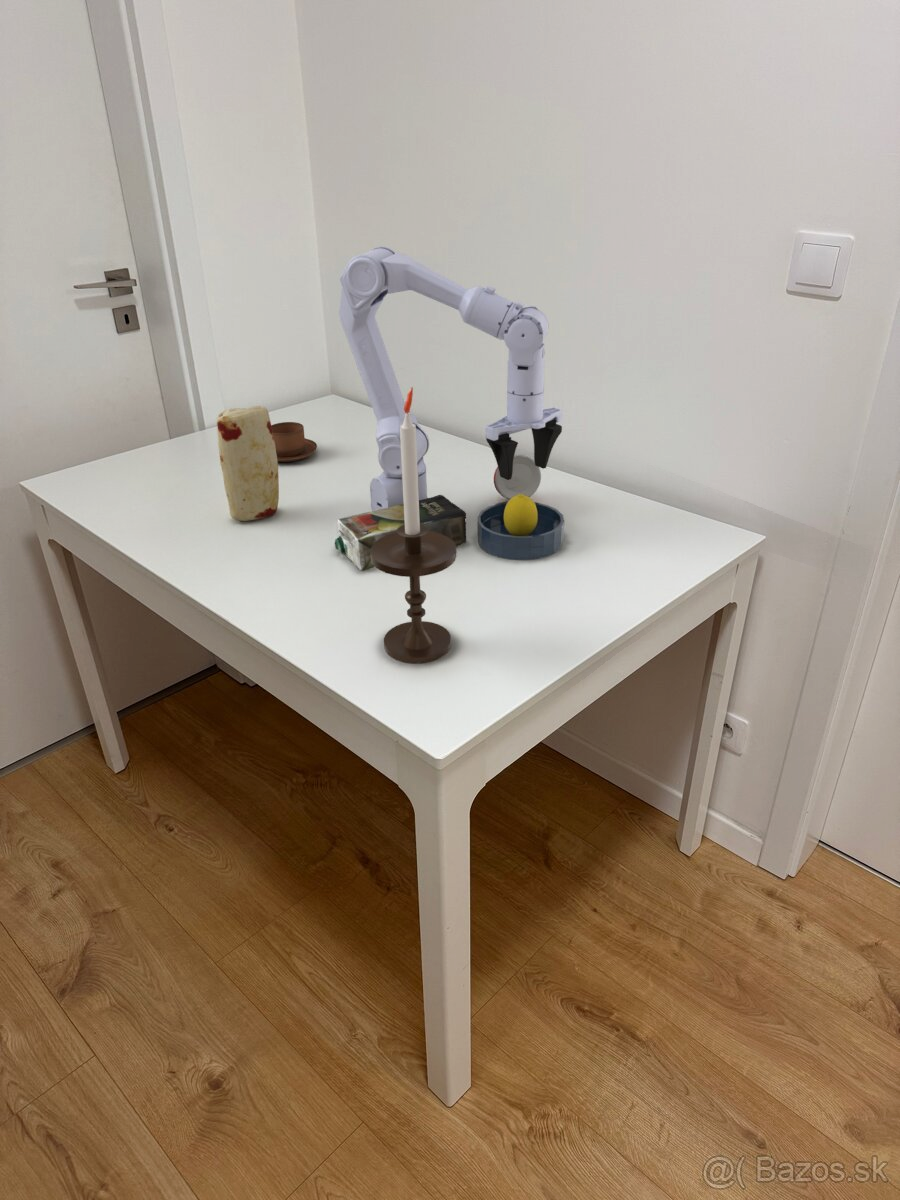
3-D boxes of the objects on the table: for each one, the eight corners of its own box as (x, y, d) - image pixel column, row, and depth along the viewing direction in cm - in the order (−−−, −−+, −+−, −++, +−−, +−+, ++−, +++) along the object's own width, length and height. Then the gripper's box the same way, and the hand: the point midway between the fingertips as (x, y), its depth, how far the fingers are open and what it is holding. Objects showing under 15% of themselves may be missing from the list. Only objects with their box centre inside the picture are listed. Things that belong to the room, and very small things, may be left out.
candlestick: (451, 619, 119) (446, 371, 101) (464, 662, 110) (460, 398, 92) (374, 627, 118) (355, 377, 100) (380, 671, 108) (361, 404, 91)
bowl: (513, 568, 132) (514, 545, 130) (460, 536, 142) (460, 515, 140) (580, 543, 139) (582, 521, 137) (525, 515, 149) (526, 494, 147)
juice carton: (355, 574, 131) (352, 538, 128) (332, 549, 139) (329, 515, 136) (468, 545, 139) (468, 511, 136) (440, 524, 147) (439, 491, 144)
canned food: (485, 485, 155) (486, 486, 144) (508, 448, 154) (511, 445, 143) (520, 507, 155) (524, 509, 144) (544, 470, 154) (550, 469, 143)
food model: (236, 529, 146) (218, 417, 136) (224, 516, 151) (205, 406, 141) (289, 516, 150) (275, 406, 140) (275, 503, 155) (261, 396, 145)
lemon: (536, 531, 142) (538, 487, 138) (536, 546, 138) (538, 501, 133) (504, 531, 143) (504, 487, 139) (502, 545, 138) (503, 500, 134)
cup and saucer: (253, 451, 179) (249, 423, 176) (308, 442, 183) (305, 415, 180) (268, 470, 170) (263, 441, 166) (325, 460, 174) (322, 431, 171)
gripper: (506, 405, 125) (505, 490, 132) (576, 387, 133) (572, 468, 140) (477, 395, 130) (477, 477, 137) (546, 377, 138) (543, 456, 145)
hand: (523, 472), depth 139 cm, fingers open, 7 cm apart
